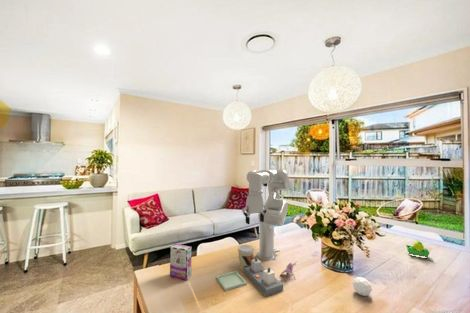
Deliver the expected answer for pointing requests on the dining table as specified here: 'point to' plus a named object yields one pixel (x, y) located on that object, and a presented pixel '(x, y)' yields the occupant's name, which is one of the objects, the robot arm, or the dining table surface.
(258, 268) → the grey twin plug
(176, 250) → the candy bar box
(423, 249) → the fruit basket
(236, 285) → the sage tray
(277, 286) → the power strip
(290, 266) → the lily
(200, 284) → the dining table surface
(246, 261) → the coffee cup
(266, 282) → the cream plug
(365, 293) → the geometric ball
